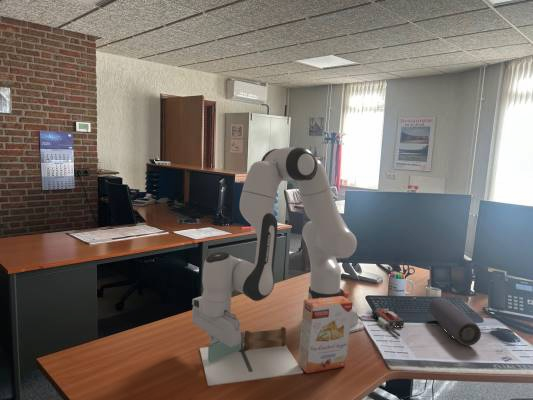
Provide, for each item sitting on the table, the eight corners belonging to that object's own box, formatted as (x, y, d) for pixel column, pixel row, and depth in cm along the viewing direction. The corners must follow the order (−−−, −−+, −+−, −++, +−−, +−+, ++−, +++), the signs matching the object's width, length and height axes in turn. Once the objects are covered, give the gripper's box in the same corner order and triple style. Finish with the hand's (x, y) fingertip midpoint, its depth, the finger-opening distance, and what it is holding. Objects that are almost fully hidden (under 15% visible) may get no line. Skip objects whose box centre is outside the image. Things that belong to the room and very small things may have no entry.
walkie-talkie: (367, 315, 157) (396, 339, 138) (367, 305, 156) (397, 328, 137) (385, 313, 159) (417, 337, 140) (386, 303, 158) (418, 325, 139)
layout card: (281, 340, 133) (281, 338, 133) (303, 373, 114) (303, 371, 114) (199, 349, 125) (199, 347, 125) (208, 386, 106) (208, 384, 106)
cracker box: (306, 375, 112) (312, 306, 110) (297, 364, 118) (302, 298, 115) (346, 367, 118) (353, 301, 115) (335, 357, 123) (341, 294, 121)
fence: (284, 343, 130) (284, 326, 129) (285, 346, 128) (286, 329, 127) (243, 348, 126) (244, 330, 125) (244, 350, 124) (245, 333, 123)
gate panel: (241, 347, 125) (242, 331, 125) (243, 349, 125) (244, 332, 124) (207, 361, 117) (208, 344, 116) (209, 363, 116) (210, 345, 115)
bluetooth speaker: (481, 349, 132) (484, 321, 131) (454, 348, 132) (457, 321, 131) (449, 320, 155) (452, 296, 153) (426, 319, 155) (428, 295, 153)
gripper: (246, 314, 113) (245, 358, 115) (205, 293, 127) (204, 333, 129) (230, 320, 108) (228, 366, 110) (189, 298, 123) (188, 339, 124)
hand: (215, 348), depth 120 cm, fingers closed
